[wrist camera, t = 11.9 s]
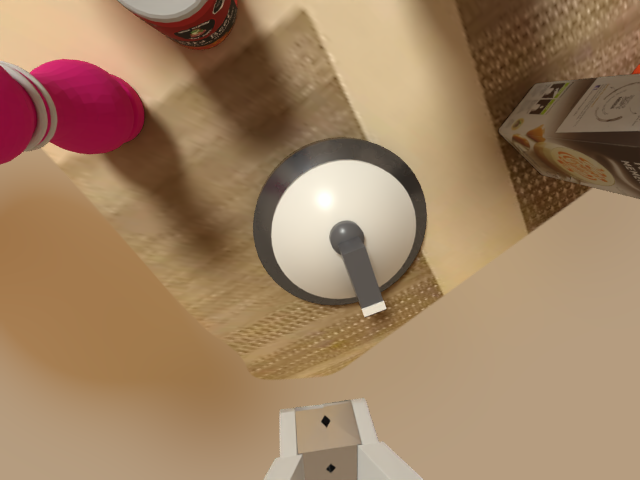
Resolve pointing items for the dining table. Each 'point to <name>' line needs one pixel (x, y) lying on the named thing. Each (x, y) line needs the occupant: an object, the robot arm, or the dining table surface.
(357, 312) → the dining table surface
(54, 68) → the pepper mill
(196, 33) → the canned food
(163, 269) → the dining table surface
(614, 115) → the coffee box
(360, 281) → the dial
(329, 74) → the dining table surface
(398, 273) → the dial housing
